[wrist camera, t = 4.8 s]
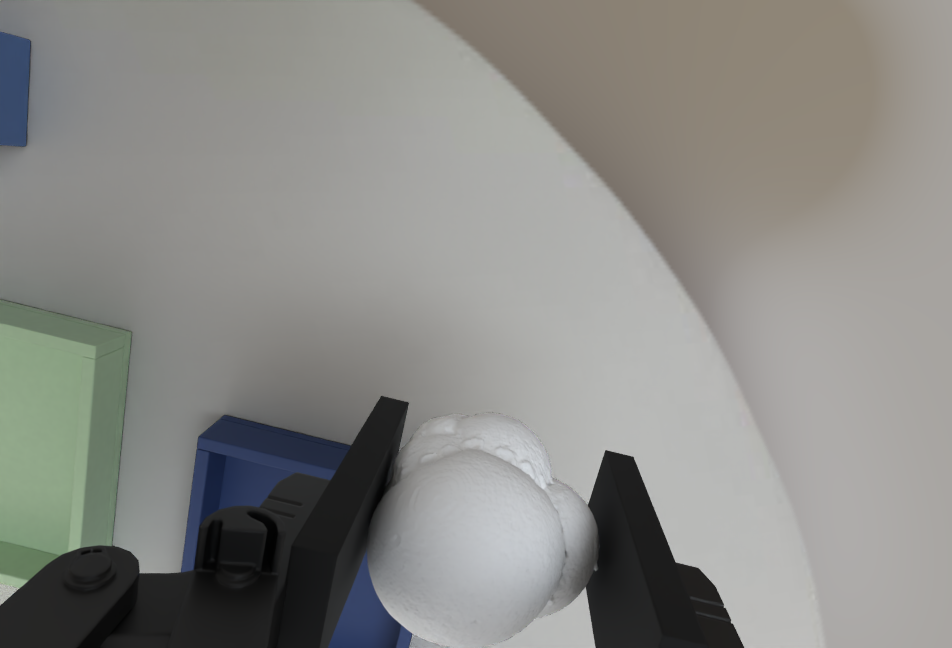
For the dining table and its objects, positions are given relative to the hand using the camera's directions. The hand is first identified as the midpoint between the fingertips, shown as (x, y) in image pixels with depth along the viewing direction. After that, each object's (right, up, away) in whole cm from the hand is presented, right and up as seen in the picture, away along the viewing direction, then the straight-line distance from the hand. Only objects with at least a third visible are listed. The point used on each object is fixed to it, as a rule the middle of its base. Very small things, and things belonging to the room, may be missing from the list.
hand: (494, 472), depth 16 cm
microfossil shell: (0, 0, 0) cm, 0 cm away
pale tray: (-23, -1, +13) cm, 27 cm away
